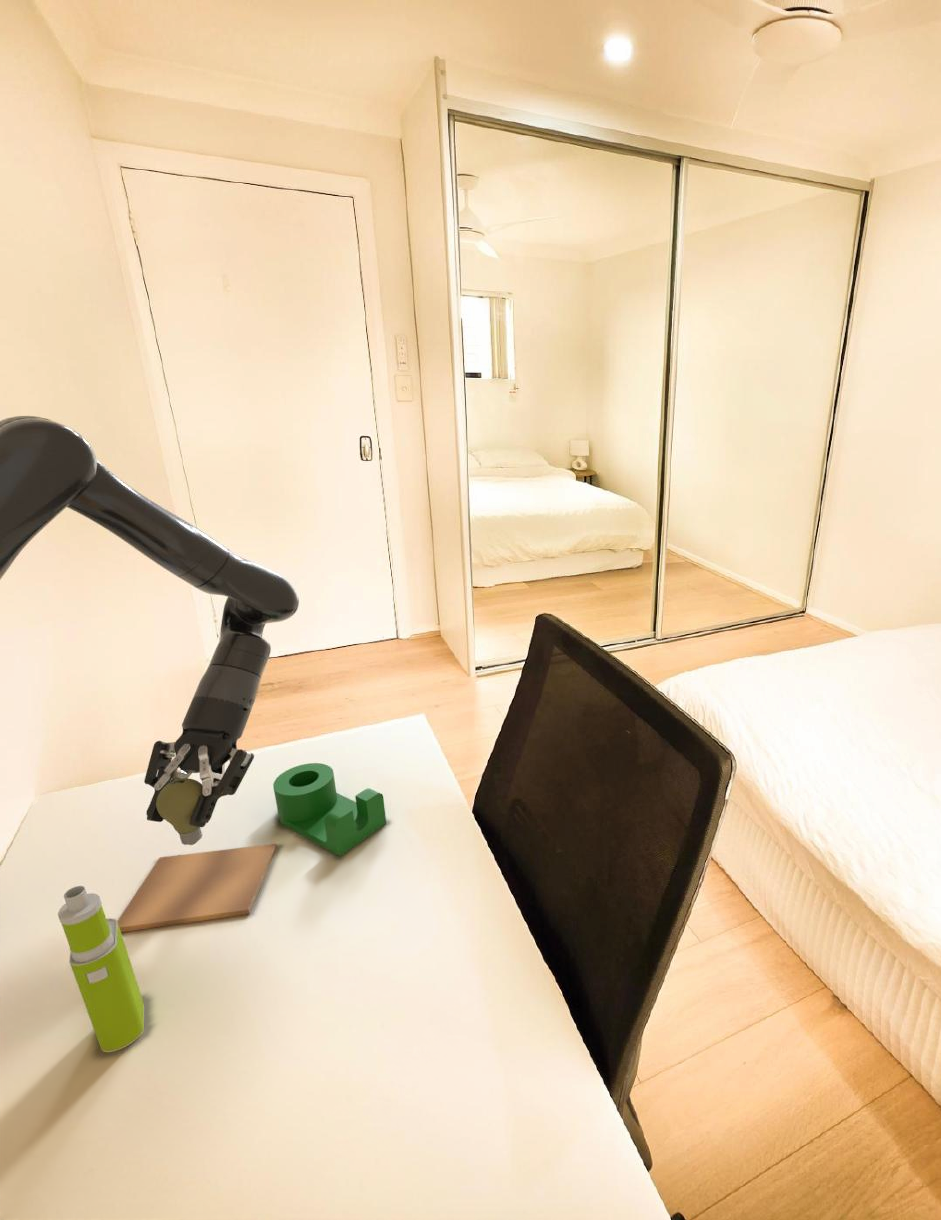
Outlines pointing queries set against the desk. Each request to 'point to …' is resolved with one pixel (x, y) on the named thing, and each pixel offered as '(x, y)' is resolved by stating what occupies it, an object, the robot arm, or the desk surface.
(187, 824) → the light bulb
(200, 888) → the brown wooden board
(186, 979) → the desk surface
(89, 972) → the vape
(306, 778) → the slotted cylinder bracket
